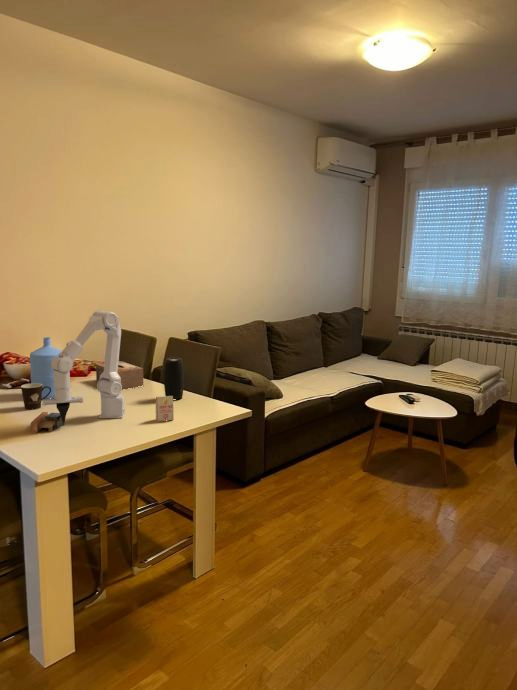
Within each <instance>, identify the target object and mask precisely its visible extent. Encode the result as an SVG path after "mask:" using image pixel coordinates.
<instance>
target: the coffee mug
mask: <svg viewBox="0 0 517 690" xmlns="http://www.w3.org/2000/svg"><path fill="white" fill-rule="evenodd" d="M42 386H43V385H42V384H38V383H32V384H31V383H25V384H22V385H21V386H20V390H21V395H22V400H23V405H24V410H26V411H27V410H28V411H34V410H39V409H41V408H42V400H43V399H44V398H46V397H47V396H48V395H49V394H50V392H51V388H50V387H48V386H45V387H43V388H42ZM44 388H49V389H50V392H49V393H48V394H47V395H46V396H45V397H43V398H42V391H43V389H44ZM41 398H42V399H41Z"/></svg>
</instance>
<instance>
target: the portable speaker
mask: <svg viewBox="0 0 517 690" xmlns="http://www.w3.org/2000/svg"><path fill="white" fill-rule="evenodd" d="M184 368H185V367H184V364H183V358H180V357H177V356H176V357H175V356H171V357H168V358H165V361H164V368H163V386H164V395H165V396H173V399H177V400H178V399H181V398H182V399H183V395H184V389H185V369H184Z"/></svg>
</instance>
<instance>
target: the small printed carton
mask: <svg viewBox="0 0 517 690" xmlns="http://www.w3.org/2000/svg"><path fill="white" fill-rule="evenodd" d="M156 420H157V421H164V422H167V421H166V420H174V400H173V396H155V421H156ZM157 421H156V422H157Z"/></svg>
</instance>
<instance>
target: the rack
mask: <svg viewBox="0 0 517 690" xmlns="http://www.w3.org/2000/svg"><path fill="white" fill-rule="evenodd" d="M48 414H49V413H48V411H42V412H41V413H40V414H38V416H36V417H35V418H34V419H33V420H32V421H31V422H30V434H38V433H39V431H41V429H42V428H45V429H48V432H49V433H52V432H53V428H52V426H53V425H54V424H55V419H45V416H46V415H48Z"/></svg>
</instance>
